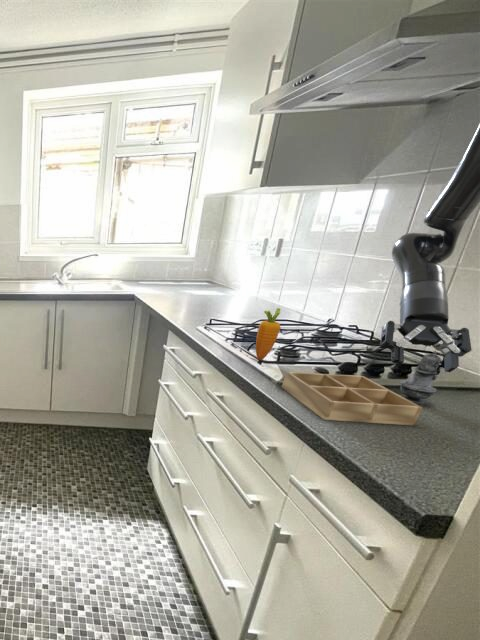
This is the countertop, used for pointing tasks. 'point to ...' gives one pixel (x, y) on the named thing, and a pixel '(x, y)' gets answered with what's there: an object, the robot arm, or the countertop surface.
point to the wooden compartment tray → (350, 398)
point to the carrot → (267, 334)
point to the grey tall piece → (421, 380)
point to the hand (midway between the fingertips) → (424, 367)
